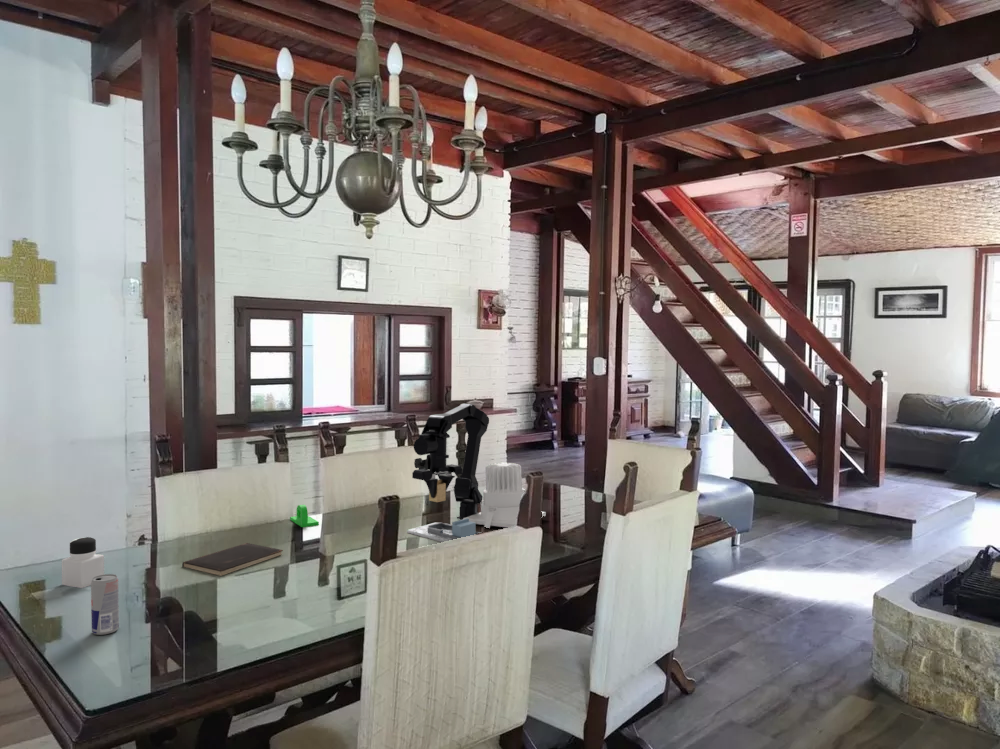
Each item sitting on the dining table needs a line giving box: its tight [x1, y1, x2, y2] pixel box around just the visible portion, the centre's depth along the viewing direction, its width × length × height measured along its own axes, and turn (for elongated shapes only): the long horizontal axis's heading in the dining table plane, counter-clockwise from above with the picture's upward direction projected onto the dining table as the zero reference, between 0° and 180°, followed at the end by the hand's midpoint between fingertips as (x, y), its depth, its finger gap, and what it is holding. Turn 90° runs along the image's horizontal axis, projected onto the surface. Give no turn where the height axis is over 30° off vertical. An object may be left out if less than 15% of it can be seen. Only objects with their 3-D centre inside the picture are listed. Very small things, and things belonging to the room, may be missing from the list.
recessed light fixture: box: [463, 461, 547, 529], centre depth 263 cm, size 25×22×21 cm
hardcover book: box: [182, 542, 284, 577], centre depth 214 cm, size 16×23×2 cm
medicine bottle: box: [61, 536, 105, 589], centre depth 193 cm, size 7×7×12 cm
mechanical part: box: [289, 504, 320, 528], centre depth 257 cm, size 12×6×8 cm, turn 35°
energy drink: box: [90, 573, 120, 636], centre depth 162 cm, size 5×5×12 cm
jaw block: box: [428, 479, 447, 503], centre depth 250 cm, size 4×4×7 cm
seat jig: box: [406, 521, 481, 543], centre depth 245 cm, size 14×22×3 cm, turn 50°
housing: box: [451, 518, 477, 537], centre depth 239 cm, size 7×4×5 cm, turn 140°
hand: (437, 497), depth 250 cm, fingers closed on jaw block, 4 cm apart
